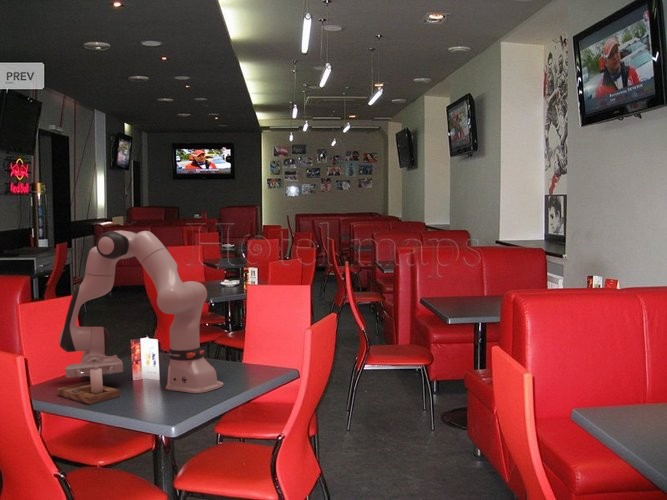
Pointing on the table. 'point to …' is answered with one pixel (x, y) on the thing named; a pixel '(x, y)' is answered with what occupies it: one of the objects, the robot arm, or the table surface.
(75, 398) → the board
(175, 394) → the table surface
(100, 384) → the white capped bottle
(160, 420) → the table surface
